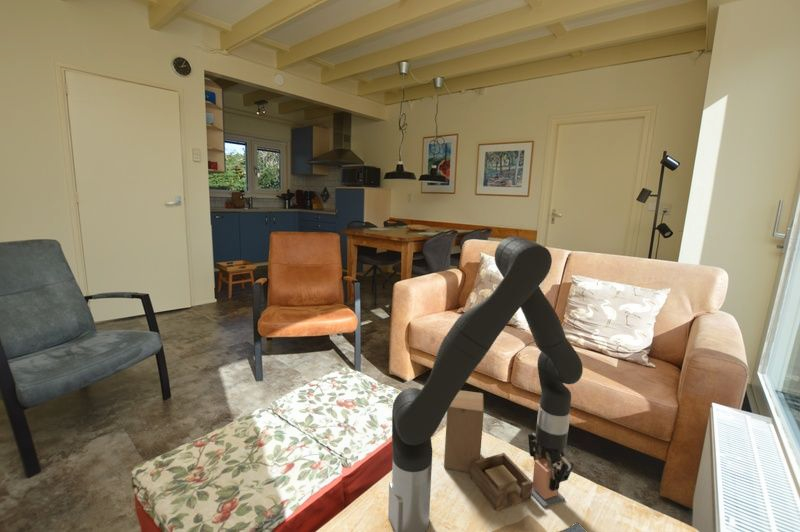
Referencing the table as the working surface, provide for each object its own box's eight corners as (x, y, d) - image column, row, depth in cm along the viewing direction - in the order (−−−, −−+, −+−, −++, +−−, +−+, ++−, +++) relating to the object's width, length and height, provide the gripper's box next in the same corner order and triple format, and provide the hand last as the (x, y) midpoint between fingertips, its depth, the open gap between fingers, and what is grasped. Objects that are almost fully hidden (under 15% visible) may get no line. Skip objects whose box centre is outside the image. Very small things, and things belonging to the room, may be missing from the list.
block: (557, 494, 99) (560, 467, 98) (544, 499, 98) (547, 471, 96) (545, 482, 104) (547, 456, 102) (532, 487, 102) (534, 460, 101)
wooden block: (478, 474, 107) (483, 411, 103) (443, 468, 109) (447, 406, 105) (478, 451, 117) (483, 392, 113) (446, 446, 119) (449, 388, 115)
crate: (496, 510, 95) (497, 493, 94) (470, 477, 106) (471, 461, 105) (530, 498, 99) (532, 482, 98) (502, 467, 110) (504, 452, 109)
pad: (543, 507, 97) (543, 505, 96) (525, 488, 103) (525, 486, 103) (564, 500, 99) (564, 498, 99) (545, 481, 105) (545, 479, 105)
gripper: (586, 438, 92) (578, 498, 95) (544, 406, 105) (537, 460, 108) (562, 445, 89) (554, 506, 92) (522, 412, 102) (516, 467, 105)
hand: (545, 481), depth 100 cm, fingers open, 5 cm apart
